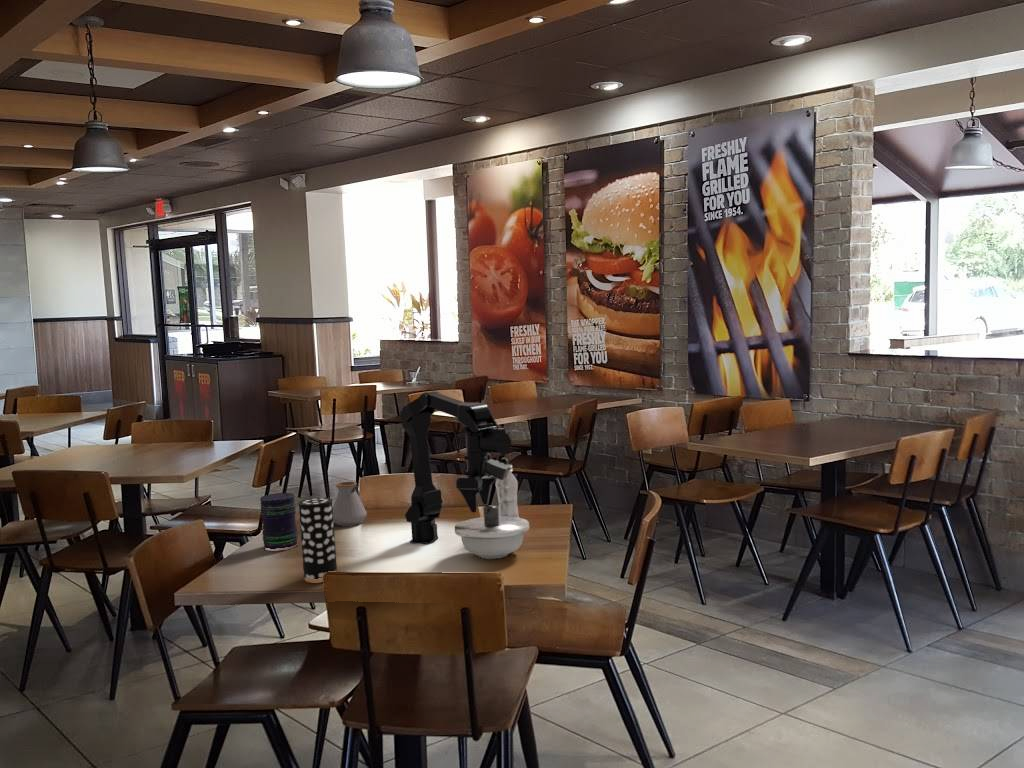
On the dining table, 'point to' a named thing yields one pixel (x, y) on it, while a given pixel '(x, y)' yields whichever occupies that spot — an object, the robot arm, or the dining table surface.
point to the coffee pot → (348, 505)
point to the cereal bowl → (493, 546)
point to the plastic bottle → (507, 495)
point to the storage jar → (279, 520)
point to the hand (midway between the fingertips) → (479, 508)
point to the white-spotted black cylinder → (317, 537)
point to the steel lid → (491, 525)
